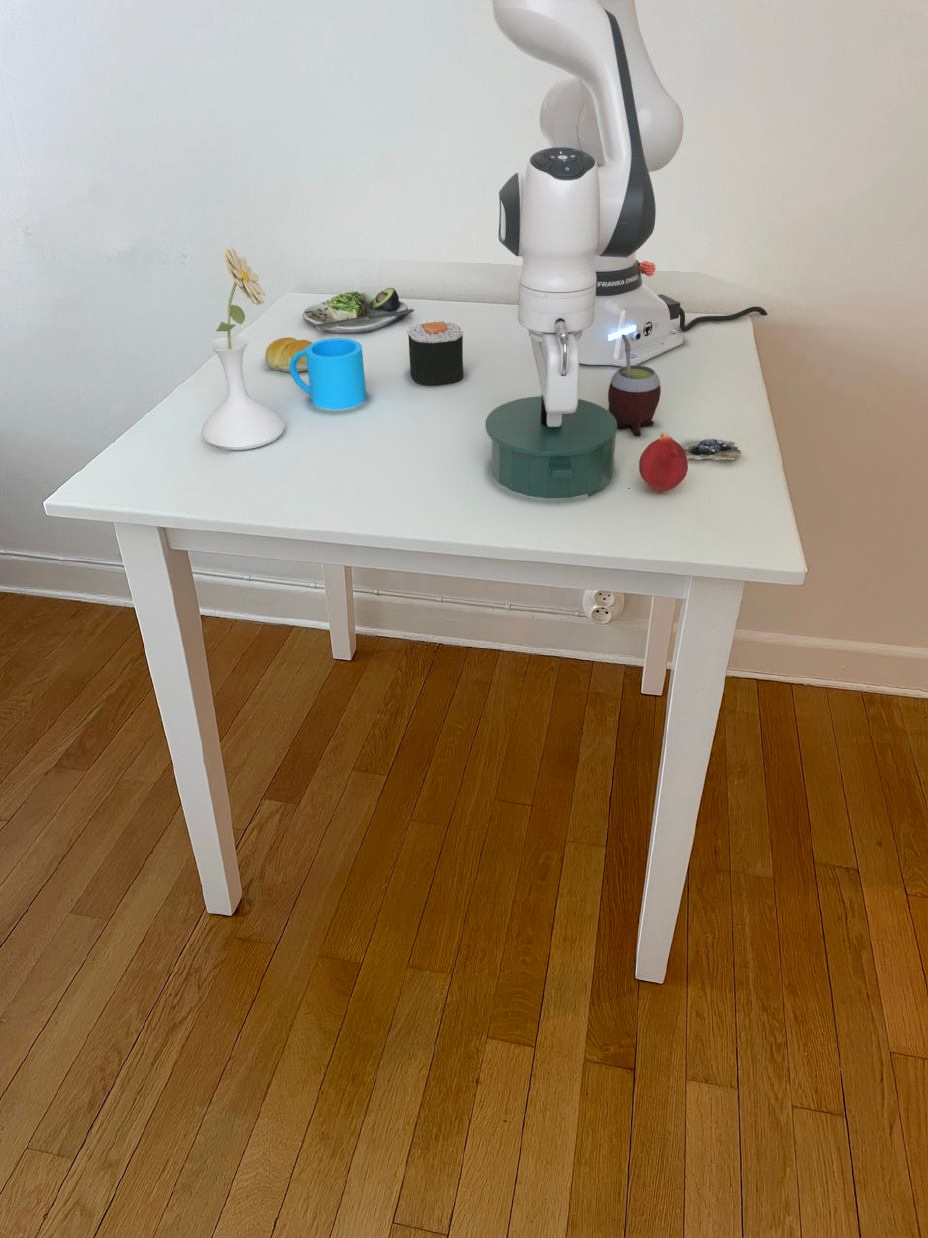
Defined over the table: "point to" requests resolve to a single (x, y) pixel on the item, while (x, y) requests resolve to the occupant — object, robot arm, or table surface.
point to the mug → (333, 373)
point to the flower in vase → (239, 377)
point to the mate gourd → (633, 395)
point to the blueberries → (712, 450)
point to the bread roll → (286, 354)
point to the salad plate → (357, 312)
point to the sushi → (436, 353)
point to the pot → (554, 472)
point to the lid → (550, 428)
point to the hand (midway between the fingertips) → (551, 417)
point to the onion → (663, 464)
